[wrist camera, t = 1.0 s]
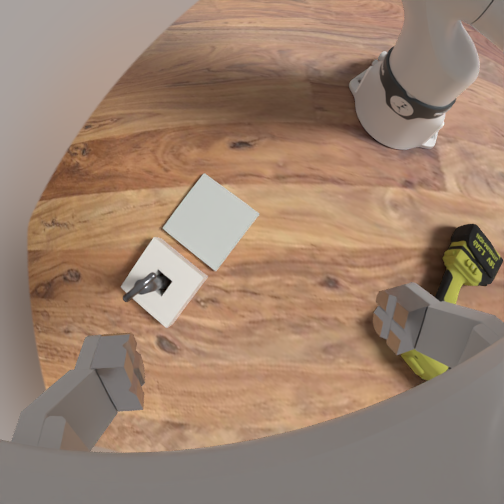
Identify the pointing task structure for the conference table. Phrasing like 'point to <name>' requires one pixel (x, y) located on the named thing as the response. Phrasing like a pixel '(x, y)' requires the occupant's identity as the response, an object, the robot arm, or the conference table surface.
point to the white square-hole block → (177, 270)
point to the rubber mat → (210, 221)
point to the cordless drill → (459, 283)
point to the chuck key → (147, 285)
